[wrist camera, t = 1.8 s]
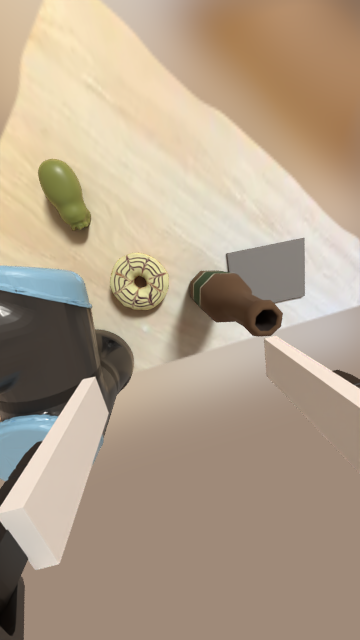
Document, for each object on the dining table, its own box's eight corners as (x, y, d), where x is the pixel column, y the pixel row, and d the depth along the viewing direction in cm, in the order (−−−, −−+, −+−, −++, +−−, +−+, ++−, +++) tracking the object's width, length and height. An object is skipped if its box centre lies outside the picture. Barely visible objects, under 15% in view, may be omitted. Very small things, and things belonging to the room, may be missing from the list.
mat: (233, 310, 43) (234, 311, 43) (226, 253, 40) (227, 253, 39) (303, 295, 44) (304, 295, 43) (302, 238, 40) (304, 237, 40)
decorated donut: (157, 314, 42) (156, 319, 38) (106, 296, 40) (101, 299, 36) (175, 267, 39) (177, 267, 36) (122, 245, 37) (119, 243, 34)
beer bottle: (182, 278, 40) (213, 300, 17) (217, 262, 40) (296, 263, 17) (196, 312, 42) (241, 371, 19) (230, 297, 42) (314, 339, 19)
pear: (61, 149, 28) (93, 225, 32) (73, 160, 33) (100, 225, 37) (22, 160, 28) (60, 235, 32) (40, 169, 32) (71, 234, 37)
